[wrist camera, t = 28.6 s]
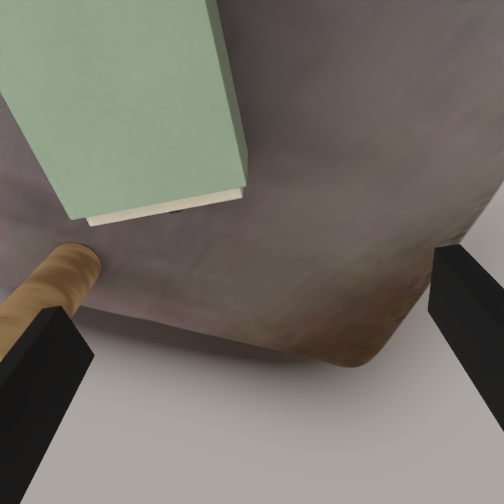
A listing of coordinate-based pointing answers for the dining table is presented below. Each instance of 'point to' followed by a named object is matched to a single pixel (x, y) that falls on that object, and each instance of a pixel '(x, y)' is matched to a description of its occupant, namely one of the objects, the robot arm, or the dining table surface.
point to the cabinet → (123, 99)
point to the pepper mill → (49, 290)
